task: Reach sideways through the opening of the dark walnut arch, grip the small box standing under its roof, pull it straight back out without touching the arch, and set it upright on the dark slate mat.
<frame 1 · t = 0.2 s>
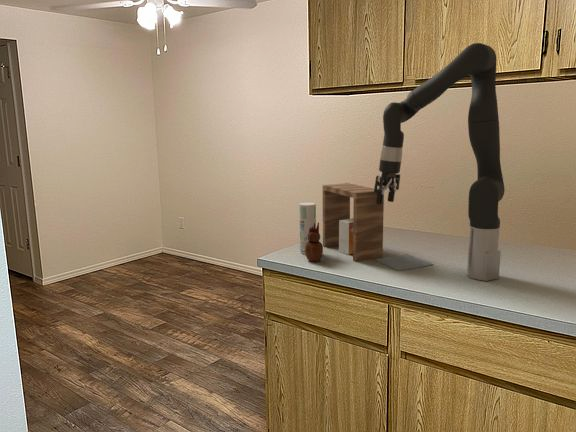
hand: (384, 202, 182), 22 cm above the worktop, tool pointing down, fingers open, 8 cm apart
small box: (351, 252, 198), on the worktop
wooden figurine: (314, 261, 187), on the worktop
mat: (403, 262, 182), on the worktop
spray can: (308, 253, 198), on the worktop
arch: (351, 251, 198), on the worktop
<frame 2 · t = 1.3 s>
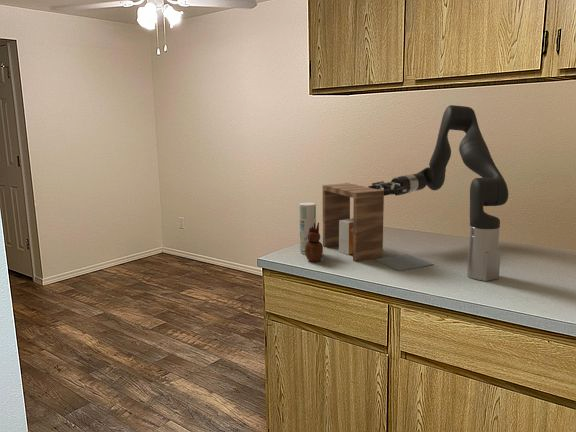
hand: (375, 191, 195), 24 cm above the worktop, tool horizontal, fingers open, 8 cm apart
nothing on the worktop moved.
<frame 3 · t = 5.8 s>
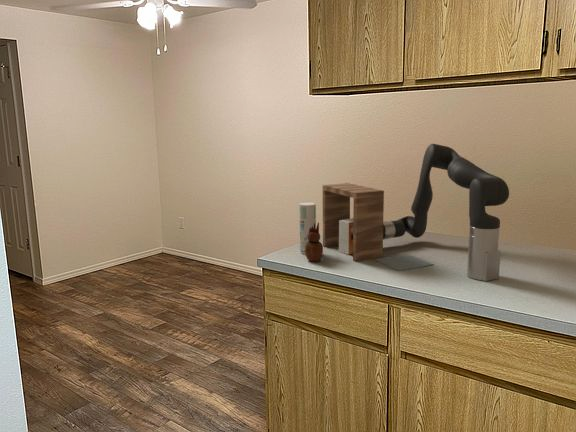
hand: (346, 235, 196), 7 cm above the worktop, tool horizontal, fingers closed on small box, 7 cm apart
small box: (351, 252, 198), on the worktop, touching gripper
everything else where it was.
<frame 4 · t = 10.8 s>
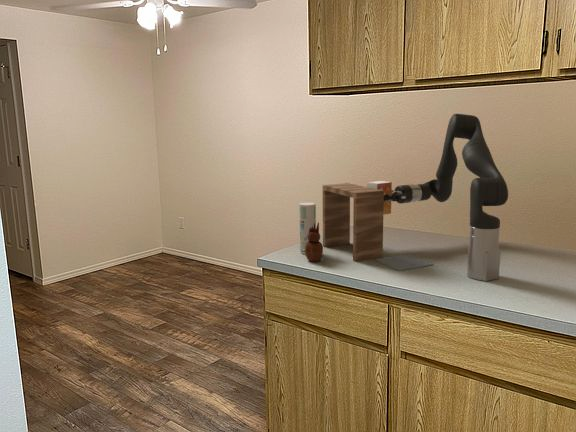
hand: (374, 197, 198), 21 cm above the worktop, tool horizontal, fingers closed on small box, 7 cm apart
small box: (378, 214, 201), point 14 cm above the worktop, touching gripper
everything else where it was.
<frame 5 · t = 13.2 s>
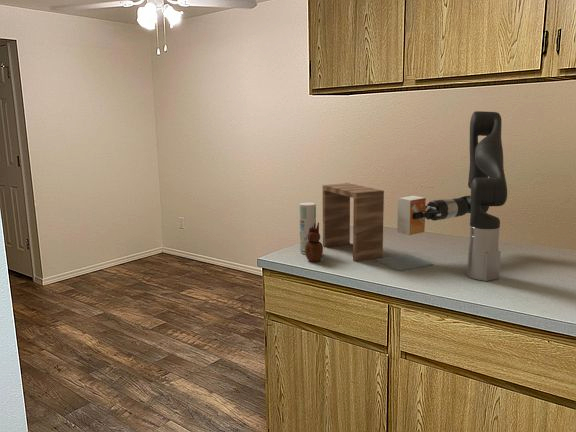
hand: (406, 214, 179), 18 cm above the worktop, tool horizontal, fingers closed on small box, 7 cm apart
small box: (410, 232, 182), point 11 cm above the worktop, touching gripper
everything else where it was.
when the fingers open (9 cm above the worktop, at t = 15.5 s): small box drops 1 cm, resting on mat.
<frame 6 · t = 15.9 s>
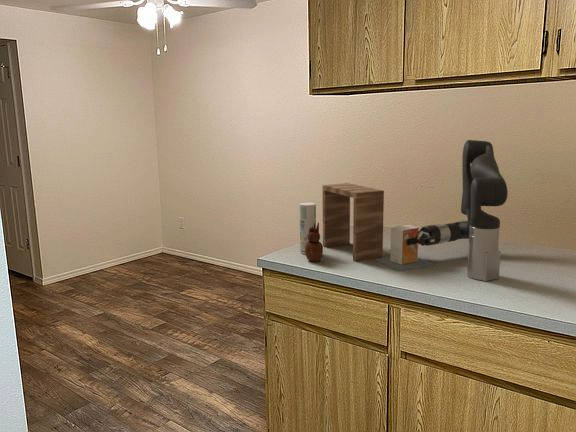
hand: (399, 239, 180), 9 cm above the worktop, tool horizontal, fingers open, 8 cm apart
small box: (403, 262, 182), resting on mat
everything else where it was.
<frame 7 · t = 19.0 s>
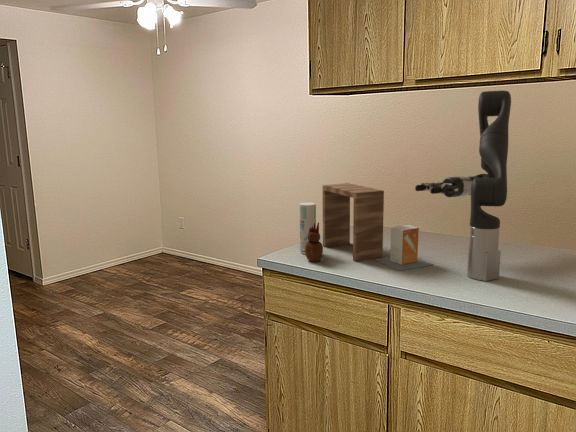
hand: (423, 189, 180), 27 cm above the worktop, tool horizontal, fingers open, 8 cm apart
nothing on the worktop moved.
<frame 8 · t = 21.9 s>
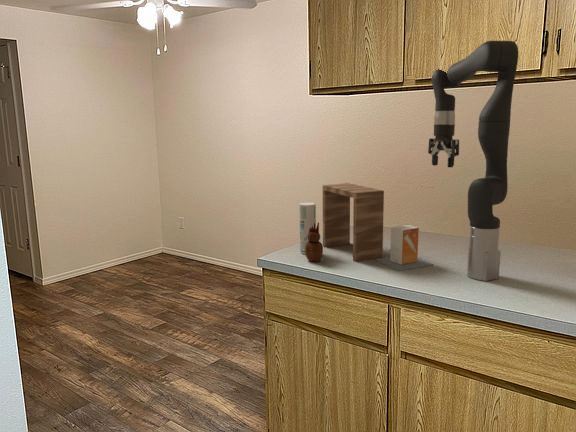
hand: (442, 166, 188), 34 cm above the worktop, tool pointing down, fingers open, 8 cm apart
nothing on the worktop moved.
at the end: small box inside the target area (0.2 cm from its centre), resting on mat; small box tilted 0°; the gripper is holding nothing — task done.
